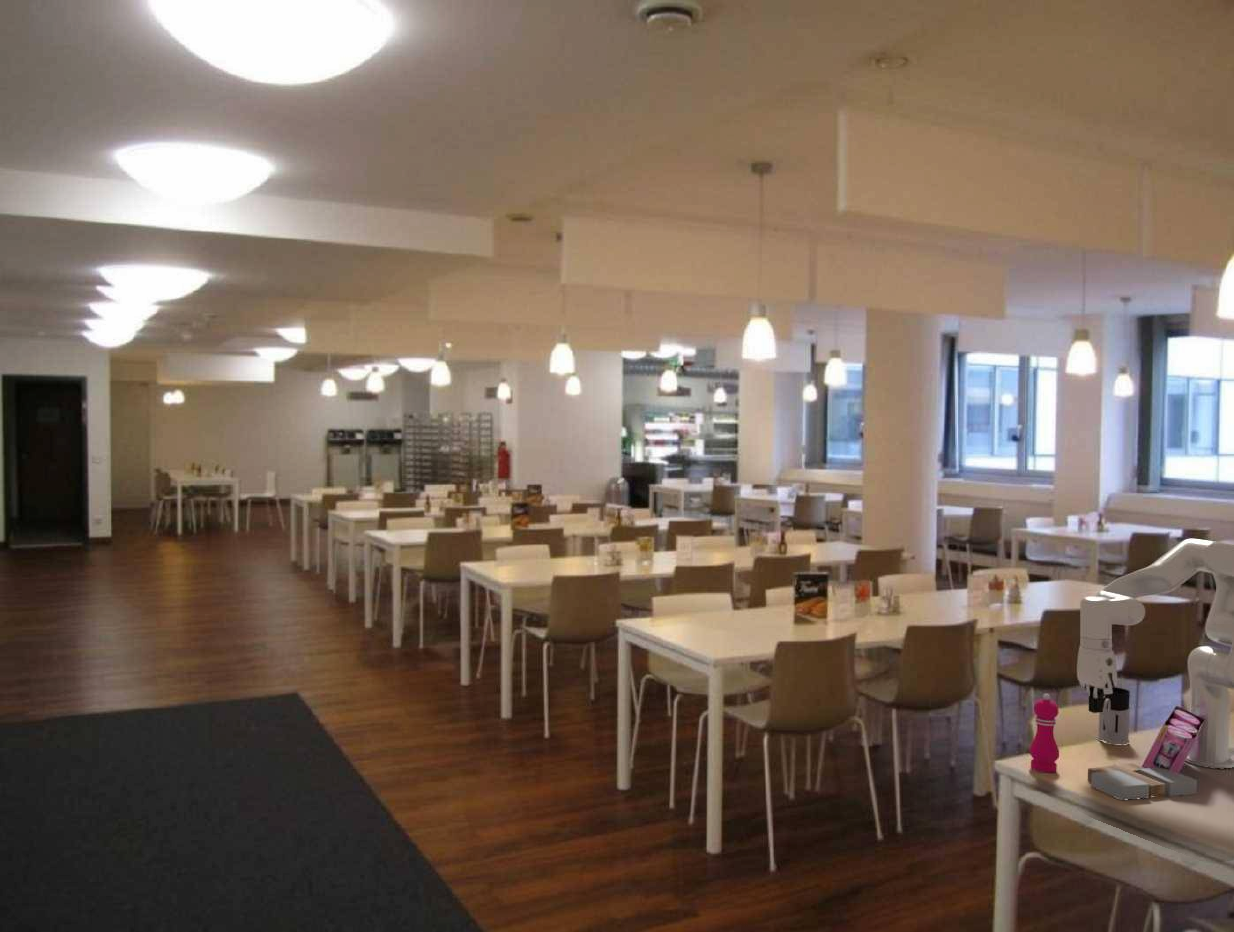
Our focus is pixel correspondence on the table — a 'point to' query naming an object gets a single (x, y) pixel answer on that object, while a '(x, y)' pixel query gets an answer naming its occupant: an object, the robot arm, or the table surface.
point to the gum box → (1174, 740)
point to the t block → (1133, 771)
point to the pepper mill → (1044, 736)
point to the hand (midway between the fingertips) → (1095, 711)
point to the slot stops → (1142, 783)
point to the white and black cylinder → (1115, 717)
